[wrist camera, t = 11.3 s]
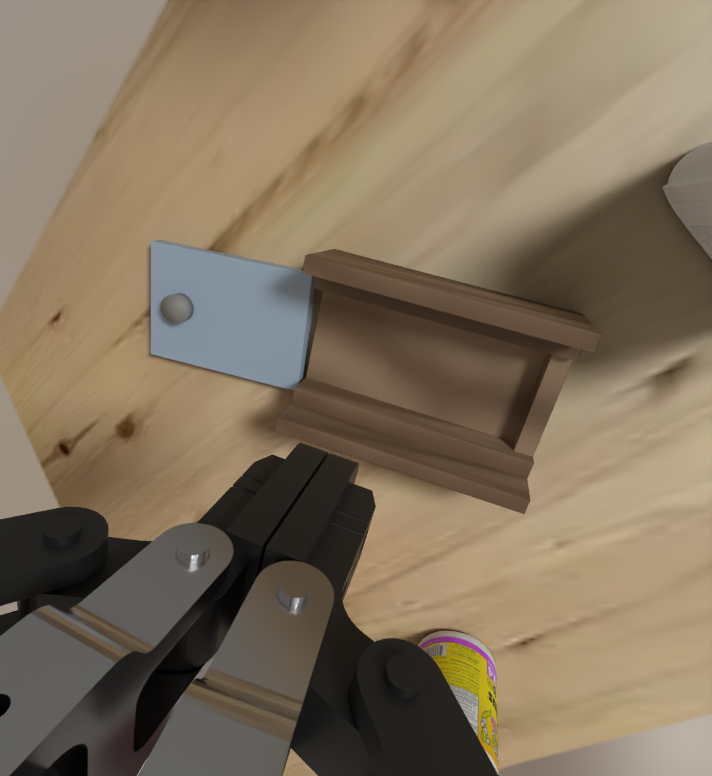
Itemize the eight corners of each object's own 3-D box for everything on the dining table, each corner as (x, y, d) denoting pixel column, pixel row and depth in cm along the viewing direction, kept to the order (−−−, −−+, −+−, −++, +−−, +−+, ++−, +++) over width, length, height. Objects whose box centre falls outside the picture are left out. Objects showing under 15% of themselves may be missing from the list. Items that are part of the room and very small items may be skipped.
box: (334, 249, 32) (305, 254, 27) (582, 314, 29) (601, 334, 24) (304, 401, 36) (274, 430, 31) (518, 469, 33) (524, 514, 28)
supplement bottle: (485, 698, 41) (484, 893, 29) (409, 672, 42) (378, 849, 30) (505, 641, 38) (513, 827, 27) (423, 615, 40) (396, 782, 28)
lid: (164, 239, 35) (141, 241, 33) (319, 271, 33) (306, 276, 31) (163, 348, 38) (142, 357, 36) (305, 384, 36) (292, 396, 34)
